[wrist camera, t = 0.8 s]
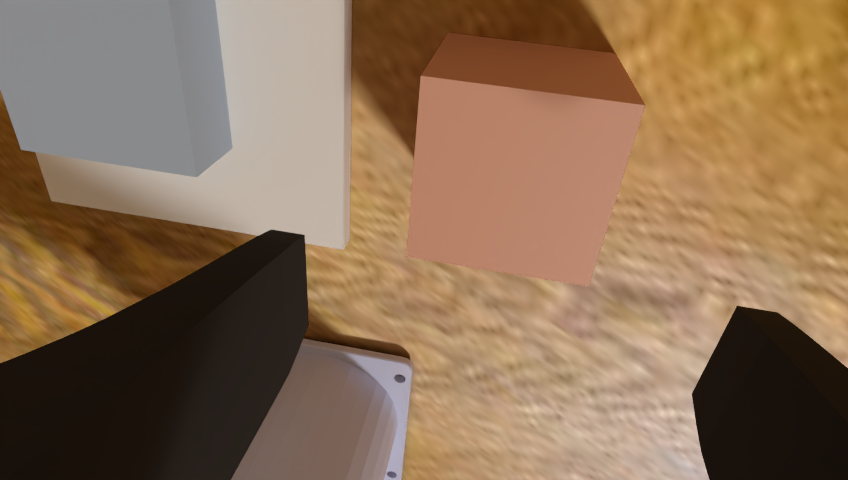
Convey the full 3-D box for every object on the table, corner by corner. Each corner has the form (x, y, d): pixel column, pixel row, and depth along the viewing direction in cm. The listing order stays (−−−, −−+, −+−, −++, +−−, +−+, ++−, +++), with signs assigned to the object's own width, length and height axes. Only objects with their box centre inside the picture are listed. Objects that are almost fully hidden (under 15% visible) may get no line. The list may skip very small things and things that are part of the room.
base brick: (232, 148, 19) (196, 177, 17) (74, 124, 19) (21, 149, 17) (210, -46, 16) (162, -38, 14) (20, -68, 16) (-53, -63, 14)
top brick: (575, 200, 19) (588, 286, 14) (433, 179, 19) (406, 256, 15) (615, 52, 16) (645, 105, 12) (448, 31, 16) (420, 75, 12)
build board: (349, 238, 21) (343, 249, 20) (65, 192, 22) (51, 201, 21) (352, -93, 15) (344, -93, 14) (-36, -133, 16) (-61, -135, 15)
